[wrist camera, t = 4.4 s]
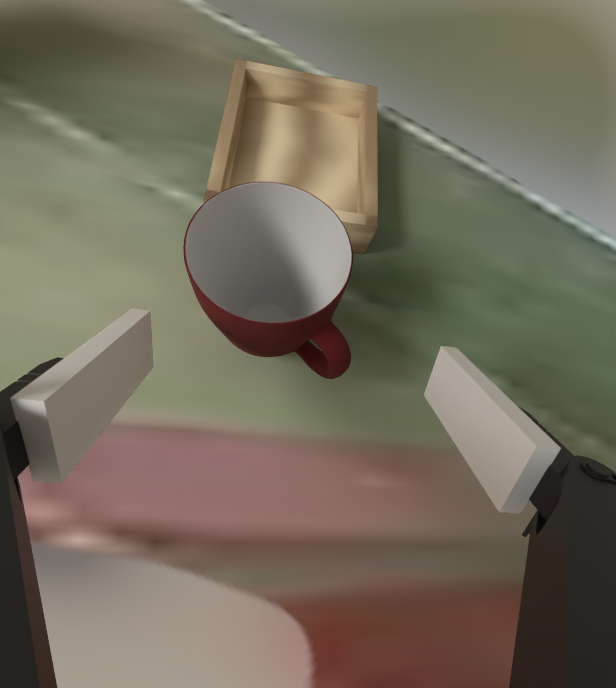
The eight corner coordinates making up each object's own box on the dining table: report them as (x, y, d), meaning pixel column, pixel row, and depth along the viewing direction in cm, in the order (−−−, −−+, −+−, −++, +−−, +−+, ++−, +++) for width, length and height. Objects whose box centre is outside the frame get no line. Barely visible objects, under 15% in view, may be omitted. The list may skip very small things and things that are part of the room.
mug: (364, 342, 26) (425, 274, 16) (300, 424, 23) (329, 399, 13) (261, 262, 27) (262, 155, 17) (188, 331, 24) (142, 249, 15)
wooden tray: (210, 231, 27) (204, 200, 24) (238, 99, 32) (235, 58, 29) (364, 253, 28) (377, 227, 25) (365, 122, 34) (377, 86, 31)
